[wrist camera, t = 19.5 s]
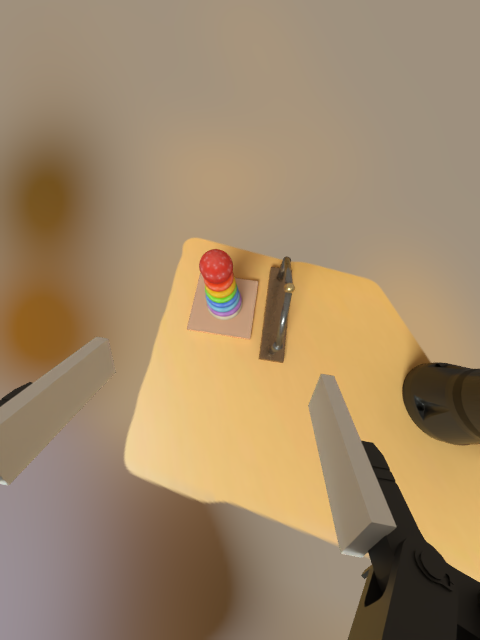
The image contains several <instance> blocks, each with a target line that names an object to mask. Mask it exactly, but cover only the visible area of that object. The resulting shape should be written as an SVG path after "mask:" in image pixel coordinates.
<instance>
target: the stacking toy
mask: <svg viewBox="0 0 480 640" xmlns="http://www.w3.org/2000/svg"><path fill="white" fill-rule="evenodd" d="M199 268H200V272H201V274H202V276H203V278H204V283H205V293H206V301H207V309H208V311H209V313H210V314H211V315H212V316H213V317H215V318H217V319H220V320H229V319H232V318H234V317H235V316H237V315H238V313H239V312H240V311H241V308H242V297H241V294H240V292H239V289H238V286H237V284H236V280H235V277H234V275H233V263H232V260H231V258H230V257H229V255H228V254H227V253H225V252H224V251H222V250H218V249H213V250H209V251H207V252H206V253H205V254H204V255H203V256H202V258H201V260H200V264H199Z"/></svg>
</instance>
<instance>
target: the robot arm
mask: <svg viewBox="0 0 480 640" xmlns="http://www.w3.org/2000/svg"><path fill="white" fill-rule="evenodd" d="M115 373H116V371H115V367H114V362H113V358H112V353H111V349H110V344H109V339H107V338H100V337H96V338H94V339H93V340H92V341H90V342H89V343H87V344H86V345H85V346H83V347H82V348H81V349H79V350H78V351H76V352H75V353H74V354H72V355H71V356H70V357H68V358H67V359H66V360H64V361H63V362H61V363H60V364H59V365H57V366H56V367H54V368H53V369H52V370H50V371H49V372H48V373H46V374H45V375H43V376H42V377H41V378H39V379H38V380H37V381H35V382H34V383H31V382H29V383H27V384H26V385H23V386H21V387H19V388H17V389H15V390H13V391H12V392H10V393H9V394H7V395H6V396H5V397H3V398H2V400H0V484H4V485H10V484H11V482H12V481H13V480H14V479H15V478H16V477H17V476H18V475H19V474H20V473H21V472H22V471H23V470H24V469H25V468H26V467H27V465H29V463H31V461H32V460H33V459H34V458H35V457H36V456H37V455H38V454H39V453H40V452H41V451H42V450H43V449H44V448H45V447H46V446H47V445H48V444H49V442H50V441H51V440H52V439H53V438H54V437H55V436H56V435H57V434H58V433H59V432H60V431H61V430H62V429H63V428H64V426H65V425H66V424H67V423H68V422H69V421H70V420H71V419H72V418H73V417H74V416H75V415H76V414H77V413H78V412H79V411H80V410H81V409H82V408H83V407H84V405H85V404H86V403H87V402H88V401H89V400H90V399H91V398H92V397H93V396H94V395H95V394H96V393H97V392H98V391H99V390H100V389H101V387H102V386H103V385H104V384H105V383H106V382H107V381H108V380H109V379H110V378H111V377H112V376H113V375H114V374H115ZM403 399H404V403H405V406H406V409H407V411H408V413H409V415H410V417H411V418H412V420H413V421H414V423H415V424H416V425H417V426H418V427H419V428H420V429H421V430H422V431H423V432H425V433H426V434H427V435H429V436H430V437H432V438H434V439H437V440H439V441H443V442H446V443H450V444H454V445H470V444H480V369H470V368H466V367H461V366H457V365H452V364H447V363H428V364H422V365H419V366H417V367H415V368H414V369H412V370H411V371H410V372H409V374H408V375H407V377H406V379H405V382H404V385H403ZM308 406H309V411H310V415H311V420H312V425H313V429H314V434H315V438H316V443H317V447H318V452H319V457H320V461H321V466H322V470H323V475H324V479H325V484H326V489H327V493H328V498H329V502H330V507H331V512H332V516H333V521H334V525H335V530H336V534H337V539H338V544H339V548H340V553H341V554H346V555H351V556H356V557H361V558H362V557H363V556H364V555H365V554H366V553H369V556H370V559H371V563H372V565H371V566H370V567H368V568H367V569H366V570H365V571H364V572H363V574H362V577H363V578H364V579H365V578H367V579H366V583H365V586H364V589H363V592H362V595H361V599H360V602H359V605H358V608H357V611H356V615H355V618H354V621H353V624H352V628H351V631H350V634H349V637H348V640H480V582H478V581H476V580H474V579H473V578H471V577H469V576H467V575H466V574H464V573H462V572H460V571H459V570H457V569H455V568H454V567H452V566H451V565H449V564H448V563H446V561H445V560H444V558H443V557H442V556H441V555H440V554H439V552H438V551H437V550H436V549H435V548H434V547H433V546H432V545H430V544H429V543H427V542H426V540H425V539H424V538H423V536H422V534H421V532H420V530H419V529H418V526H417V524H416V522H415V520H414V518H413V516H412V514H411V512H410V510H409V508H408V506H407V504H406V502H405V500H404V497H403V495H402V493H401V491H400V489H399V487H398V485H397V484H396V483H395V479H394V477H393V475H392V473H391V472H390V468H389V466H388V464H387V462H386V460H385V458H384V456H383V455H382V453H381V452H380V451H379V450H378V448H377V447H376V446H375V445H374V444H373V443H371V442H365V441H361V440H360V437H359V435H358V433H357V430H356V428H355V425H354V423H353V420H352V418H351V416H350V413H349V411H348V408H347V406H346V404H345V401H344V399H343V396H342V394H341V392H340V389H339V387H338V384H337V382H336V380H335V377H334V376H331V375H325V374H321V375H320V377H319V380H318V383H317V385H316V388H315V390H314V393H313V395H312V398H311V400H310V403H309V405H308Z"/></svg>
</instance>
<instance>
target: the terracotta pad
mask: <svg viewBox="0 0 480 640" xmlns="http://www.w3.org/2000/svg"><path fill="white" fill-rule="evenodd" d="M235 280H236V284H237V286H238V289H239V292H240V294H241V297H242V308H241V311H240V312H239V313H238V315H237V316H235V317H234V318H232V319H229V320H220V319H217V318H215V317H213V316H212V315H211V314H210V313H209V311H208V309H207V301H206V293H205V283H204V278H203V276H202V274H201V273H200V276H199V281H198V285H197V289H196V293H195V297H194V301H193V305H192V309H191V314H190V318H189V322H188V326H187V330H192V331H198V332H204V333H211V334H217V335H224V336H230V337H236V338H243V339H249V340H250V335H251V329H252V322H253V315H254V308H255V301H256V294H257V287H258V281H252V280H245V279H238V278H235Z"/></svg>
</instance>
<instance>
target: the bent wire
mask: <svg viewBox="0 0 480 640" xmlns="http://www.w3.org/2000/svg"><path fill="white" fill-rule="evenodd" d="M290 262H291V259H290V258H289V257H284V259H283V261H282V264H281V267H280V268H275V267H271V269H270V276H269V283H268V291H267V299H266V307H265V315H264V323H263V330H262V338H261V346H260V354H259V359H261V360H267V361H273V362H280V363H283V361H284V350H285V339H286V328H287V318H288V311H289V306H290V301H291V296H292V292H294V290H295V287H294V285H293V284H292V270H291V264H290Z"/></svg>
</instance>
